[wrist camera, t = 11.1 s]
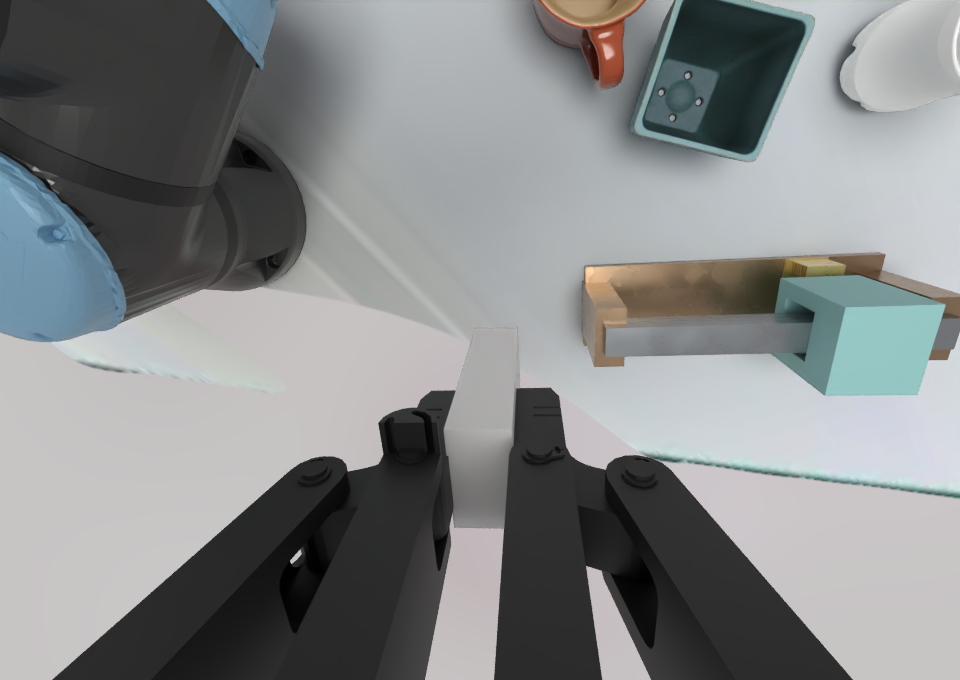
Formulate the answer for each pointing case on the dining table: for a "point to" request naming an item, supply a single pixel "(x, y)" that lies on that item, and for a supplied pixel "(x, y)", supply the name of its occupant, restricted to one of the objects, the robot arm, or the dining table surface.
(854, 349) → the block
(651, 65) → the flower pot
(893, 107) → the water bottle
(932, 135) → the dining table surface
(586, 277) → the rail
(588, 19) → the mug
